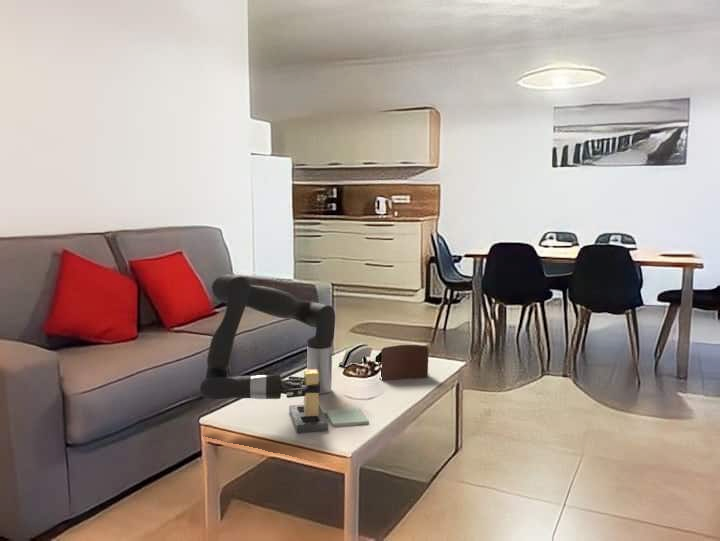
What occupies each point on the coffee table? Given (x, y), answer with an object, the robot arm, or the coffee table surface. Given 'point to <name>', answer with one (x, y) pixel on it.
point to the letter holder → (404, 362)
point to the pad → (346, 417)
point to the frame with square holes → (307, 420)
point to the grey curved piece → (356, 354)
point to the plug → (311, 398)
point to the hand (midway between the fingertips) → (319, 386)
